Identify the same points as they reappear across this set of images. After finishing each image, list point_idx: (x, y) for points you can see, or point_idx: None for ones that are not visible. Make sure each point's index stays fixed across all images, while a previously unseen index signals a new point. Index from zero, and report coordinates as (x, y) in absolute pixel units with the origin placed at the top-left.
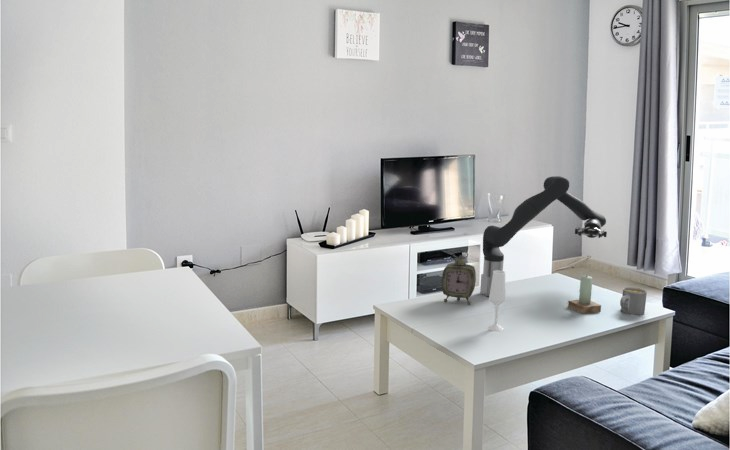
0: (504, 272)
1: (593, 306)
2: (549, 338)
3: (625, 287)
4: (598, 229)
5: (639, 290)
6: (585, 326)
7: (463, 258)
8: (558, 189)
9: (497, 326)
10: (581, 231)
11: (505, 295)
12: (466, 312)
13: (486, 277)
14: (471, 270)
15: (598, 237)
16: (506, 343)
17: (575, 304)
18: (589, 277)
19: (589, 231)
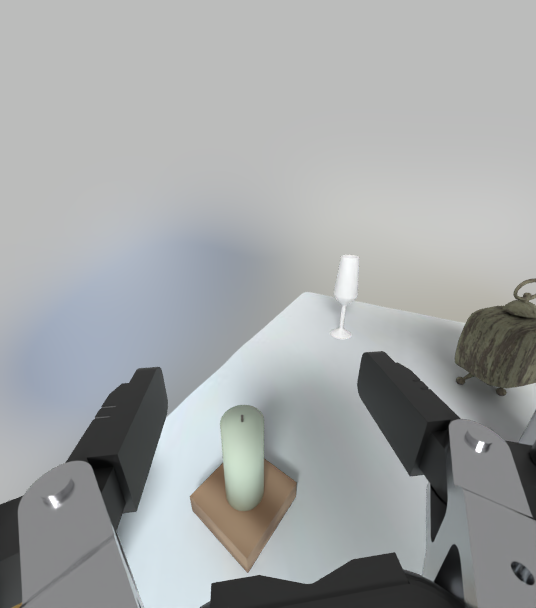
0: (344, 257)
1: (215, 471)
2: (269, 335)
3: None
4: (75, 599)
5: None
6: (229, 386)
7: (518, 299)
8: None
9: (336, 328)
10: (392, 393)
11: (335, 289)
12: (419, 357)
13: None
14: (472, 313)
15: (167, 405)
16: (304, 314)
17: (268, 462)
18: (231, 423)
19: (341, 583)
